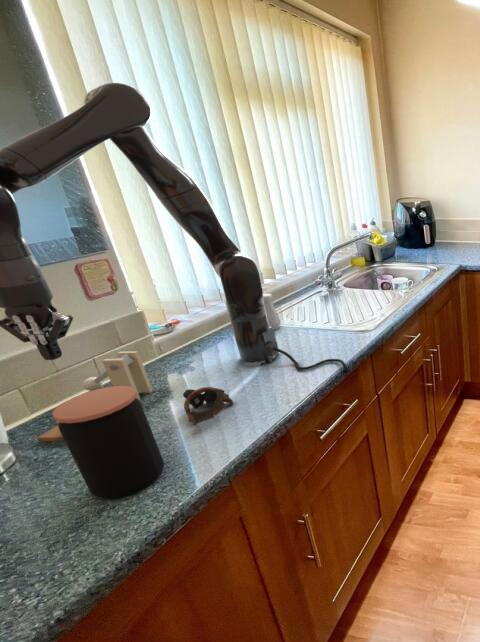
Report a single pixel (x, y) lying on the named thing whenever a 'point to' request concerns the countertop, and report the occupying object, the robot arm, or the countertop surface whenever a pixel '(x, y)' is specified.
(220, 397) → the brown hollow shell
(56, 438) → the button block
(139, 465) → the coffee jar
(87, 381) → the lever
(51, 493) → the countertop surface
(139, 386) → the bracket
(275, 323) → the salt shaker
